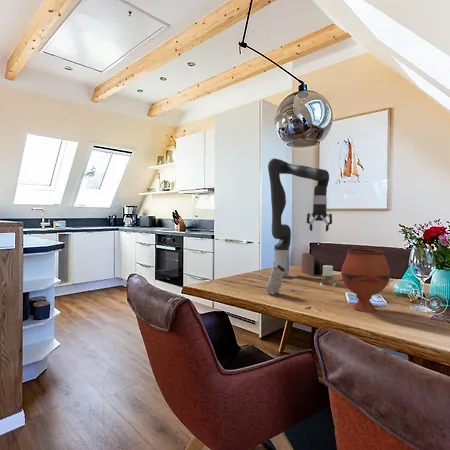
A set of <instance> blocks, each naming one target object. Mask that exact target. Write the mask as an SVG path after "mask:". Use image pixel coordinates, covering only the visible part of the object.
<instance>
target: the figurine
mask: <svg viewBox="0 0 450 450" xmlns="http://www.w3.org/2000/svg"><path fill="white" fill-rule="evenodd" d="M284 271H285V269H284V268H283V267H282V266H281V265H277V267H274V268H272V269H271V271H270V276H269V278H268V279H267V280H268V282H267V283H266V284H265V289H266V292H267V293H268V294H270V295H272V296H273V295H274V296H275V294H277V295H278V294H280V289H281V287H282V278H284V277H283V272H284Z"/></svg>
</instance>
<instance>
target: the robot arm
mask: <svg viewBox="0 0 450 450" xmlns="http://www.w3.org/2000/svg"><path fill="white" fill-rule="evenodd" d="M267 170H268V176H269V183H270V184H269V185H270V199H271V200H270V203H271V234H272V238H274V239H275V240H279V241H278V242H277V243H276V244H274V248H273V249H274V250H273V251H274V252H273V253H274V257H273V258H274V259H273V265H272V266H273V268H274V267H277V265H281V266H282V267H283V268H284V269H285V271H284V272H283V277H282V278H289V276H290V275H289V274H290V247H291V239H292V230H291V226H289V225H288V224H283V223H282V215H283V213H284V210H285V207H286V204H287V200H286V198H287V197H286V196H287V195H286V191H285V189H284V185H283V184H282V181H281V175H282V174H283V175H293V176H296V177H299V178H303V179H308V180H313V181H316V182H317V185H315V186H314V188H313V189H314V190H313V201H312V202H313V203H312V204H313V205H312V213H309V212H308V213H307V215H306V224H309V230H310V232H312V231H313V228H314V227H313V226H314V225H313V224H314V223H315V221H316V222H319V221H320V222H322V221H323V222H324V223H325V232H328V231H329V228H330V227H329V226H330V225H332V224H333V215H332V213H327V206H328V202H327V198H328V197H327V191H328V189H327V188H328V185H329V181H330V173H329V171H328V170H326V169H323V168H318V167H310V166H306V165H300V164H291V163H289V162H287V161H285V160H282V159H279V158H271V159H270V160H269V162H268V163H267ZM311 217H313V219H312V220H311V221H310V219H311ZM327 217H328V218H329V221H328V220H327V219H326V218H327ZM273 268H272V269H273Z"/></svg>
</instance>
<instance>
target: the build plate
mask: <svg viewBox="0 0 450 450" xmlns="http://www.w3.org/2000/svg"><path fill="white" fill-rule="evenodd" d="M336 283H337V282H334V284H333V286H332V287H335V286H336ZM319 286H327V287H331V286H330V285H322V281H320V283H319Z"/></svg>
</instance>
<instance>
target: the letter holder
mask: <svg viewBox="0 0 450 450" xmlns="http://www.w3.org/2000/svg"><path fill="white" fill-rule="evenodd" d="M323 265H328V264H327V263H326V262H324V261H322V260H320V259H318V258H317V257H315V256H314V255H313V254H311V253H308V252H302V256H301V273H304V274H306V275H308V276H311V277H312V278H313V277H315V278H318V277H319V278H320V277H321V278H322V274H323Z"/></svg>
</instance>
